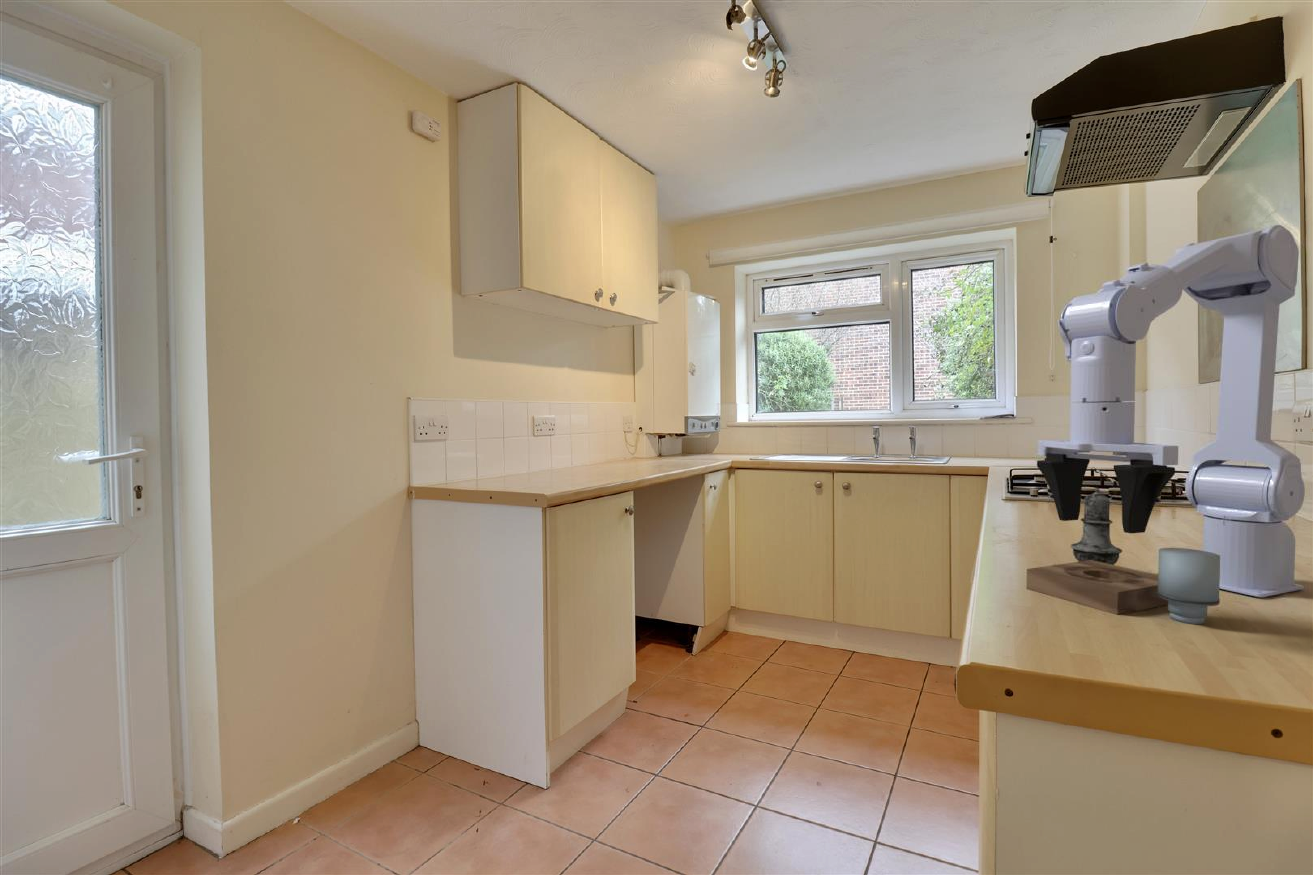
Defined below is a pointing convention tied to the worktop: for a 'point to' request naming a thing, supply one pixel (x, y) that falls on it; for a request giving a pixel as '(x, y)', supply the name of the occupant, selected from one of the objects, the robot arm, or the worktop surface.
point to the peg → (1188, 582)
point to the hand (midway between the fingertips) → (1099, 525)
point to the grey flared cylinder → (1096, 532)
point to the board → (1098, 585)
